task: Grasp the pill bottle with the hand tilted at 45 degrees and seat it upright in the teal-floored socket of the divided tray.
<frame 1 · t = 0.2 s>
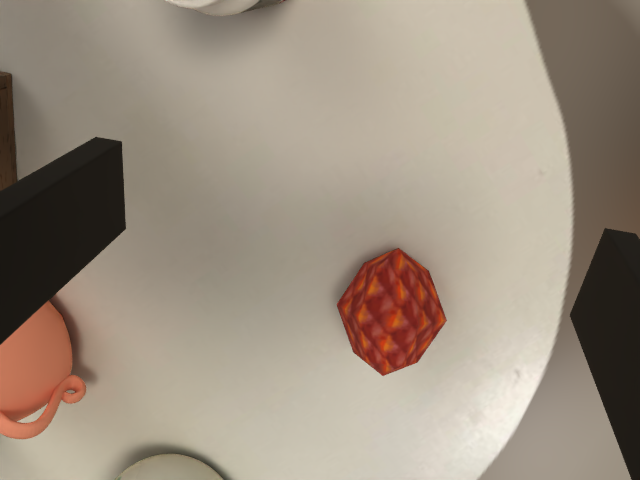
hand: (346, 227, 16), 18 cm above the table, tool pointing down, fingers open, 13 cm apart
sugar bowl: (30, 327, 46), on the table
decorative stone: (394, 288, 38), on the table
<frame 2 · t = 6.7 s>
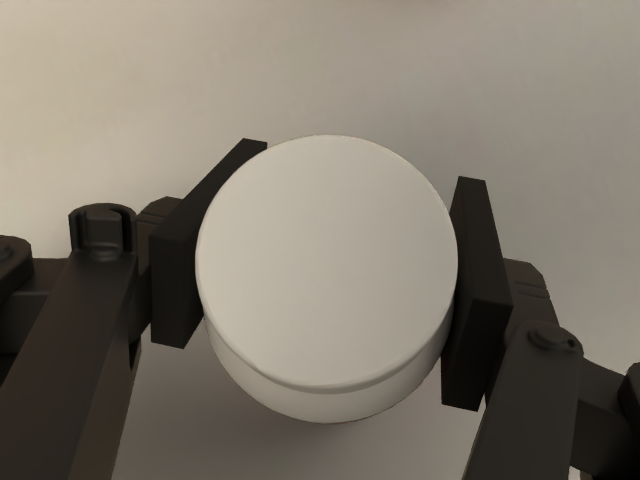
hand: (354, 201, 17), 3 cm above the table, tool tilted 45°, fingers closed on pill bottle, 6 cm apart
pill bottle: (332, 336, 20), on the table, touching gripper
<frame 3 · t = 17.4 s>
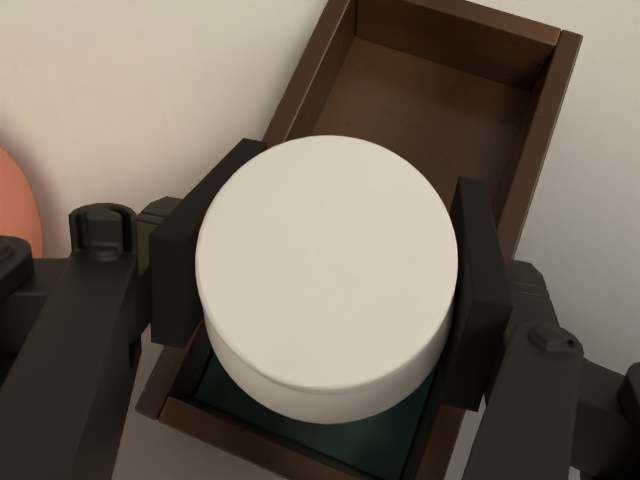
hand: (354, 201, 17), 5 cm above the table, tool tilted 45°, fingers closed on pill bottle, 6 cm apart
divided tray: (373, 238, 22), on the table
pill bottle: (332, 336, 20), point 1 cm above the table, touching gripper
when the fingers open (5 cm above the table, at t = 21.6 s): pill bottle drops 1 cm, resting on divided tray.
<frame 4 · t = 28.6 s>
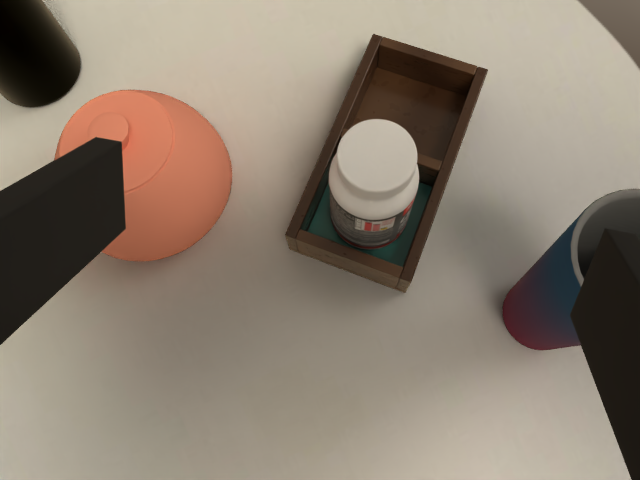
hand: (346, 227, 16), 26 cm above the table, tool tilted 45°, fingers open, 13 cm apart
battery: (41, 73, 48), on the table
sugar bowl: (151, 202, 44), on the table
divided tray: (386, 169, 44), on the table
pill bottle: (368, 215, 42), point 1 cm above the table, touching divided tray
cup: (537, 314, 40), on the table
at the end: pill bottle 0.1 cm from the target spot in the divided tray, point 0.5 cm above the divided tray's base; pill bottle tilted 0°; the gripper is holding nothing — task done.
